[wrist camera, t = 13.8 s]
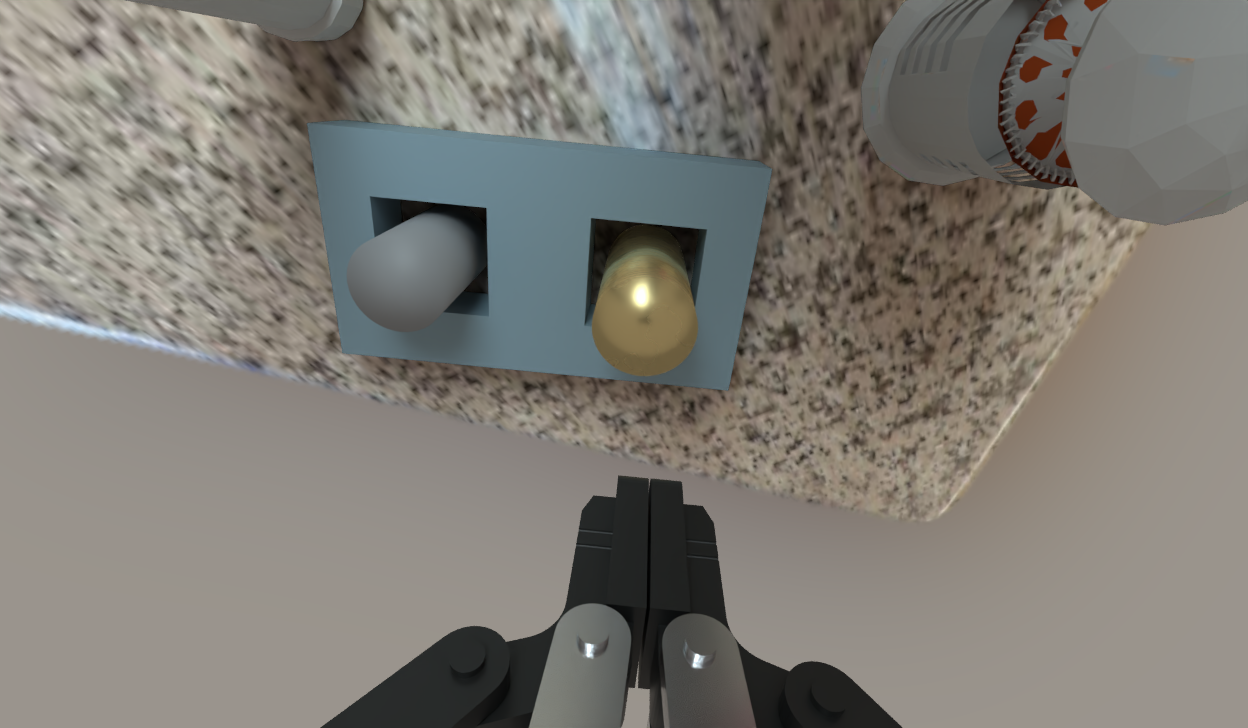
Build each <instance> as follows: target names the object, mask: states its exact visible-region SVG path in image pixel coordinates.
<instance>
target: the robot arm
mask: <svg viewBox="0 0 1248 728" xmlns="http://www.w3.org/2000/svg"><path fill="white" fill-rule="evenodd" d="M648 491H649V493H648ZM638 662H639V674H638V688H643V689H650V713H649V719H648V724H647V728H902V727H901V726H900V725H899V724H898V723H897V722H896V721H895V720H894V719H893V718H892V717H891V716H890V715H888V714H887V712H885V711H884V710H883V709H882V708H881V707H880V706H879V705H878V704H877V703H876V702H875V701H874V700H873V699H872V698H871V697H870V696H869V695H868V694H866V692H864V691H863V690H862V689H861V688H860V687H859V686H858V685H857V684H856V683H855V682H854V681H853V680H852V679H851V678H849V677H848V676H847V675H846V674H845V673H843V672H842V671H840V670H839V669H837V668H835V667H833V666H831V665H828V664H825V663H821V662H813V661H811V662H804V663H801V664H798V665H797V666H795V667H794V668H793V669H792V670H791V671H790V672H789V671H787V670H785V669H782V668H780V667H777V666H775V665H772V664H770V663H768V662H765V661H763V660H761V659H759V658H757V657H755V656H754V655H752V654H751V653H749V652H748V651H747V650H745V649H744V648H743V647H742V646H741V645H740V644H739V643H738V642H737V640H736V639H735V637H734V636H733V634H732V633H731V631H730V629H729V626H728V623H727V619H726V612H725V605H724V597H723V589H722V582H721V574H720V567H719V561H718V551H717V545H716V536H715V529H714V523H713V521H712V520H711V518H710V517H709V515H708V514H707V512H706V510H705V509H704V507H703V506H697V505H687V504H683V490H682V482H680V481H671V480H660V479H651V480H650V486H649V479H648V478H639V477H638V478H637V477H628V476H618V484H617V494H616V498H614V497H603V496H593V497H592V499H591V500H590V501H589V502H588V503H587V505H586V506H585V507H584V509H583V510H582V514H581V520H580V526H579V532H578V537H577V543H576V549H575V555H574V561H573V567H572V573H571V578H570V584H569V590H568V596H567V601H566V605H565V609H564V611H563V613H562V615H561V616H560V618H559V619H558V620H557V621H556V622H555V623H554V624H553V625H552V626H551V627H550V628H548V629H547V630H545V631H544V632H542V633H540V634H537V635H535V636H531V637H527V638H523V639H518V640H513V641H509V642H505V640H504V639H503V638H502V636H501V635H499V634H498V633H497V632H495V631H493V630H492V629H488V628H486V627H480V626H470V627H464V628H461V629H458V630H456V631H453V632H451V633H450V634H448V635H446V636H445V637H443V638H442V639H441V640H439V641H438V642H436V643H435V644H434V645H432V646H431V647H430V648H428V649H427V650H426V651H424V652H423V653H422V654H420V655H419V656H418V657H416V658H415V659H413V660H412V661H411V662H409V663H408V664H407V665H405V666H404V667H402V668H401V669H400V670H398V671H397V672H396V673H394V674H393V675H392V676H390V677H389V678H387V679H386V680H385V681H383V682H382V683H381V684H379V685H378V686H377V687H375V688H374V689H373V690H371V691H370V692H368V693H367V694H366V695H364V696H363V697H362V698H360V699H359V700H358V701H356V702H355V703H353V704H352V705H351V706H349V707H348V708H347V709H345V710H344V711H343V712H341V713H340V714H338V715H337V716H336V717H334V718H333V719H332V720H330V721H329V722H328V723H326V724H325V725H323V726H322V727H321V728H621V726H622V724H623V721H624V716H625V708H626V702H627V695H628V688H629V687H630V688H635V682H636V676H637V668H638Z"/></svg>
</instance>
